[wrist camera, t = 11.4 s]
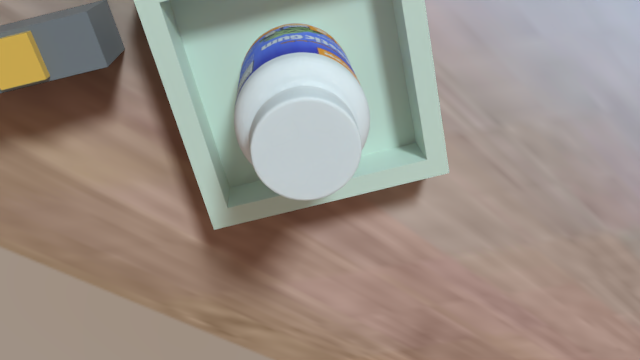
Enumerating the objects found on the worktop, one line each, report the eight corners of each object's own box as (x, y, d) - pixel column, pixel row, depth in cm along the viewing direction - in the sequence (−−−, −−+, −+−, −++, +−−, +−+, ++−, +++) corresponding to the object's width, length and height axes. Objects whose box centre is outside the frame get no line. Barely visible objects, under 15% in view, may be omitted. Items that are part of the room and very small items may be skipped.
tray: (141, -24, 28) (128, -16, 25) (397, -88, 27) (411, -87, 25) (218, 203, 33) (214, 229, 30) (433, 150, 33) (449, 172, 30)
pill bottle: (360, 32, 29) (403, 90, 20) (335, 135, 31) (364, 227, 22) (249, 10, 28) (243, 60, 19) (231, 117, 30) (219, 206, 21)
